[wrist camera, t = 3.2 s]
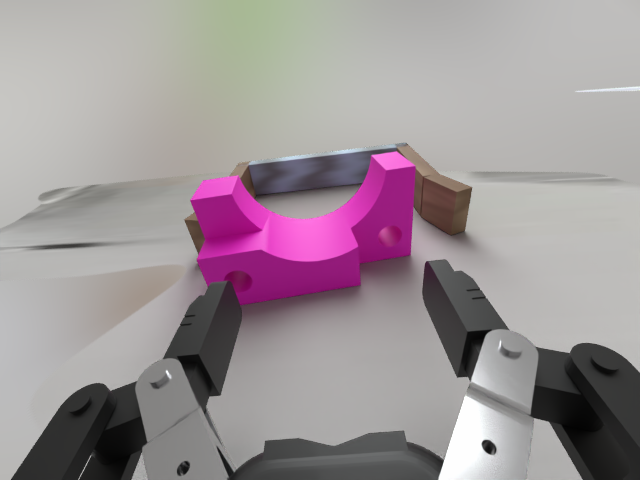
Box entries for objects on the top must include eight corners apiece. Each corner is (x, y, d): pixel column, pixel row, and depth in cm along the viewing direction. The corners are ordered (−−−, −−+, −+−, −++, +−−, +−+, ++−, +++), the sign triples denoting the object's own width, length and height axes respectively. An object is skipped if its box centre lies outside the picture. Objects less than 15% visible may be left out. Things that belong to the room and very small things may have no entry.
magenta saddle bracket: (217, 311, 21) (178, 217, 17) (230, 260, 26) (203, 180, 22) (423, 276, 21) (432, 178, 17) (394, 233, 27) (396, 151, 23)
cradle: (198, 261, 26) (181, 222, 24) (237, 193, 39) (229, 163, 37) (467, 233, 25) (475, 189, 23) (414, 172, 38) (416, 141, 36)
